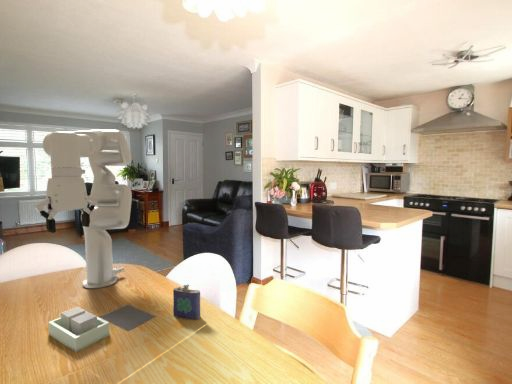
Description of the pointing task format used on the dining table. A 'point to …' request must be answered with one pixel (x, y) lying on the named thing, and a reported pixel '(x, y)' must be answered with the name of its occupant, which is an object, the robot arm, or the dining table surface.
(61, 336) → the bin
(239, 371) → the dining table surface
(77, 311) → the stone
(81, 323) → the grey block
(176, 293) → the flask
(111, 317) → the mat
